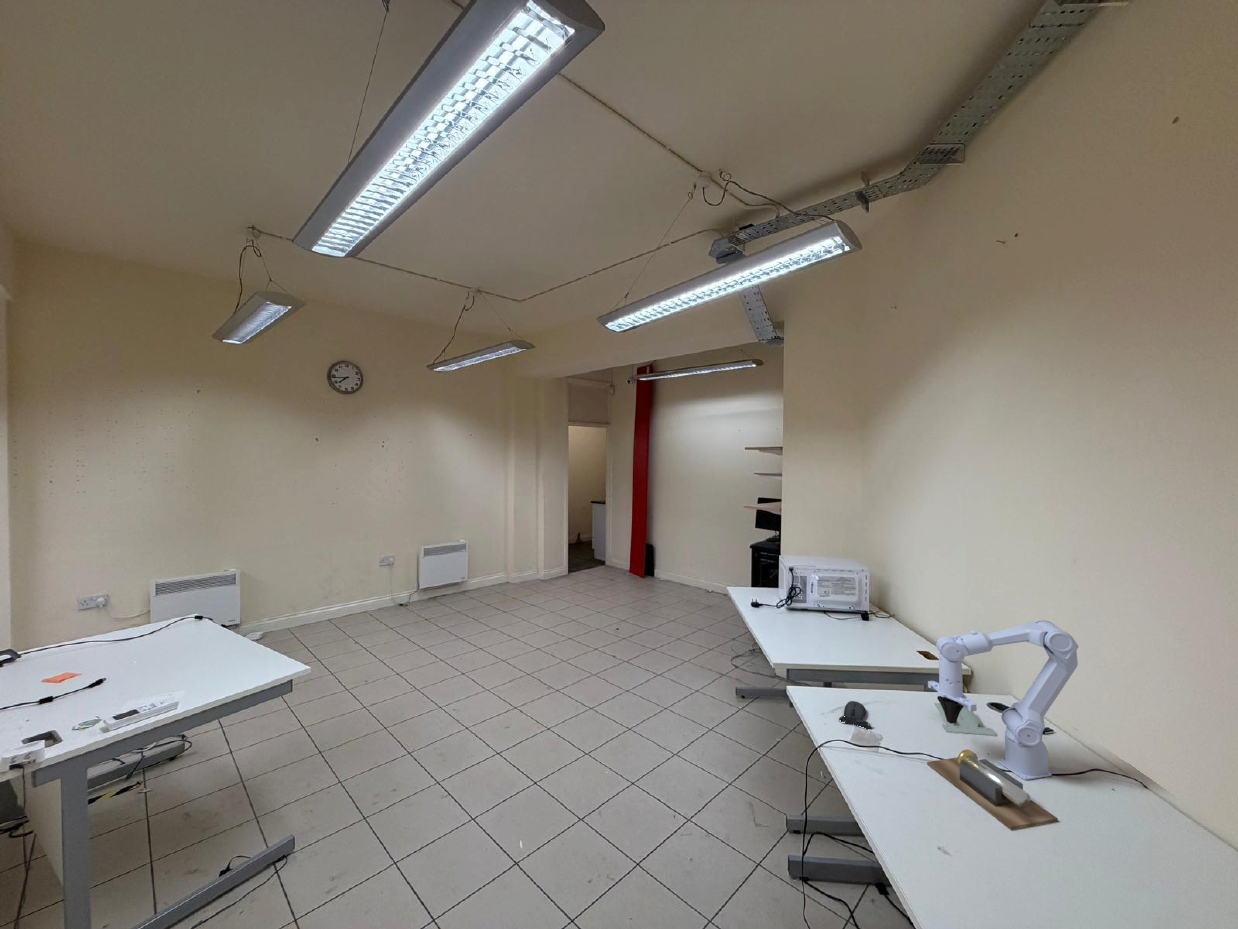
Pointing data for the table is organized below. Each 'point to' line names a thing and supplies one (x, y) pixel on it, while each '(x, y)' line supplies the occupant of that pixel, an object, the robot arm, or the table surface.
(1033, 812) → the base board
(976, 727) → the metal bracket
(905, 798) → the table surface
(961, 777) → the bearing block
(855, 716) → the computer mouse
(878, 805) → the table surface
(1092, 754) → the table surface
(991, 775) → the shaft
